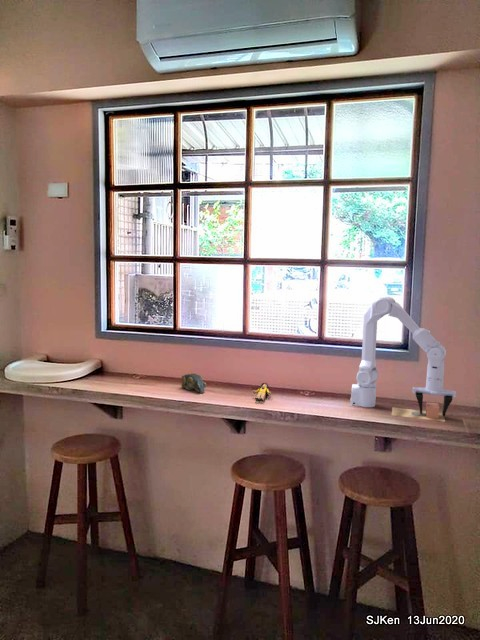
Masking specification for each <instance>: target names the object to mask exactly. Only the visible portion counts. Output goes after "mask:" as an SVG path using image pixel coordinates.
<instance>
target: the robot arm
mask: <svg viewBox="0 0 480 640" xmlns="http://www.w3.org/2000/svg"><path fill="white" fill-rule="evenodd" d="M386 315H388V317H393V318H396V319H398V320H399V321H400V322H401V324H403V326H404V327H406V329H407V330H409V332H411V334H412V340H413V341H414V343H416V344H417V345H418V346H419V347H420V348H421V349H422V350H423V352H425V353H426V357H427V360H428V361H427V367H426V378H425V379H426V380H425V387H421V386H419V387H418V386H416V387H415V386H412V394H415V398H416V400H417V403H418V406H419V410H420V414H422V411H423V404H424V403H423V401H424V400H423V399H424V395H431V396H439V397H443V406H442V412H441V413H442V415H443V416H444V417H446V413H447V410H448V408H449V407H450V404H451V403H452V402H453V398H455V399H456V397H457V391H456V390H448V389H443V388H444V377H445V376H444V374H445V358H446V355H447V350H446V348H445V346H444V345H443V344H441V342H440V341H439V340H438V341H437V340H436V339H435V337H434V336H433V335H432V334H431V333H432V332H431V331H430V330H429V329H426V328H423V327H419V325H418V324H417V323H416V322H415V320H414V319H413V318H412V317H411V316H410V315H409V313H408V312H407V311H406V310H405V309H404V308H403V307H402V305H401V304H400V303H399V302H396V300H395V299H394V298H393V297H390V296H385V297H379V298H377V299H375V300H374V301H372V302H371V305H370V307H368V309H367V311H366V312H365V313H364V315H363V328H362V345H361V346H362V347H361V361H360V364H359V366H358V371H357V373H356V377H355V379H356V380H355V381H356V383H352V384H351V389H350V390H351V394H350V406H357V407H363V408H374V407H375V406H376V398H377V383H376V381H377V380H378V378H379V371H378V369H377V362H376V350H377V349H376V348H377V334H378V333H377V329H378V321H379V320H381V319H382V318H384V317H385V316H386Z"/></svg>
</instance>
